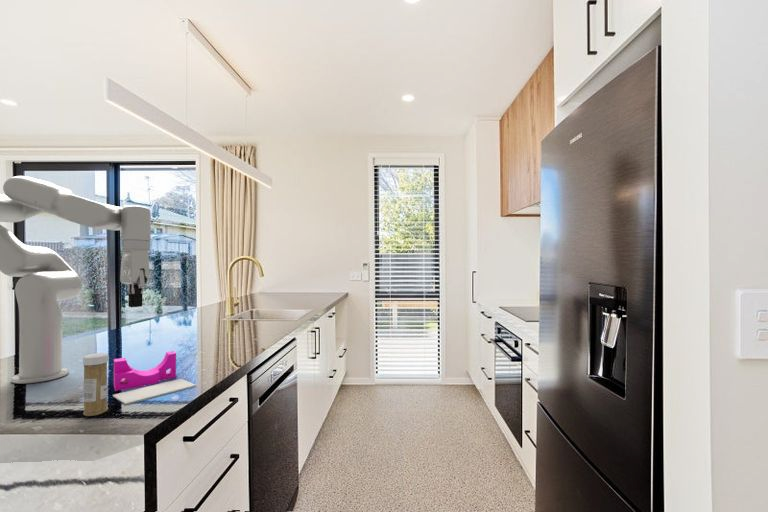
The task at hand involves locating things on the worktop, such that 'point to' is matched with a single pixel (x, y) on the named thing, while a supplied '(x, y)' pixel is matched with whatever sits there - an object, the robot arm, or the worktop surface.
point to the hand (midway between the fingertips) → (135, 306)
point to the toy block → (143, 373)
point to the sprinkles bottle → (95, 384)
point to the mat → (153, 391)
